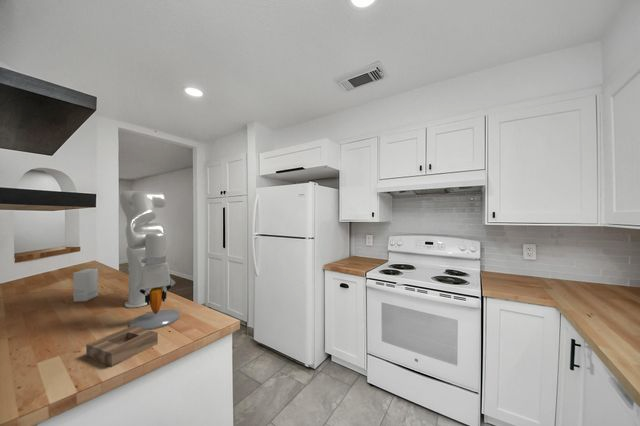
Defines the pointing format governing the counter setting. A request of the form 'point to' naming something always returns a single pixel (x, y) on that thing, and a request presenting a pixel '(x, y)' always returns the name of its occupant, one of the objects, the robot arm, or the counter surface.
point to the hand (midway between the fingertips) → (155, 301)
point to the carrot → (155, 299)
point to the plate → (155, 319)
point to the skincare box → (85, 284)
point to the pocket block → (121, 345)
